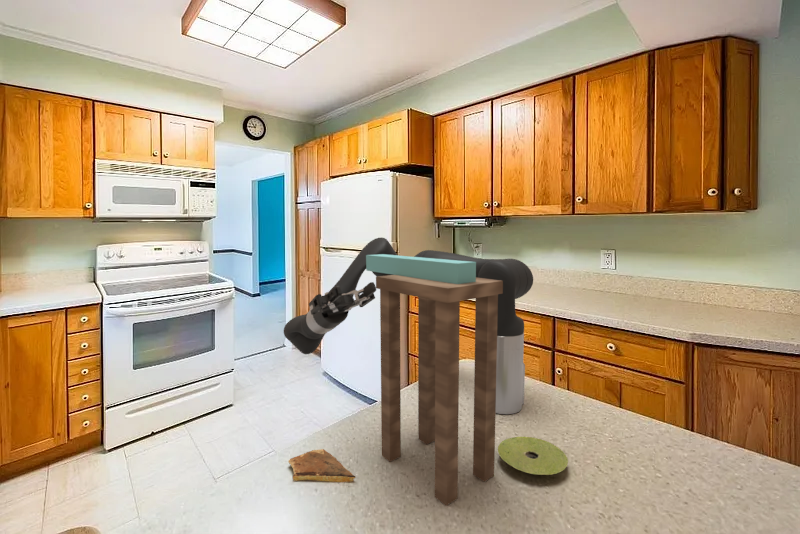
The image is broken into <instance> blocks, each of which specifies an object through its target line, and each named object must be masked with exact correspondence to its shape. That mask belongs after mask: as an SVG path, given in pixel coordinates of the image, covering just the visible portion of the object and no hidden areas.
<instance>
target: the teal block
mask: <svg viewBox="0 0 800 534" xmlns="http://www.w3.org/2000/svg"><path fill="white" fill-rule="evenodd" d="M365 271H367V272H372V271H373V272H379V273H386V274H393V275H400V276H406V277H413V278H420V279H426V280H433V281H440V282H447V283H453V284H462V283H470V282H476V262H470V261H458V260H446V259H434V258H422V257H414V256H408V255H407V256H406V255H398V254H397V255H387V254H377V255H366V269H365ZM373 272H372V273H373Z"/></svg>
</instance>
